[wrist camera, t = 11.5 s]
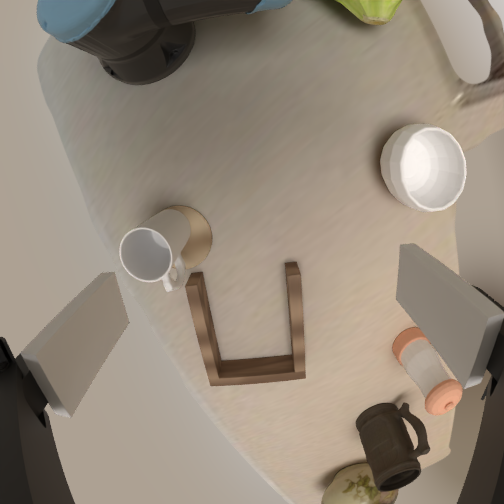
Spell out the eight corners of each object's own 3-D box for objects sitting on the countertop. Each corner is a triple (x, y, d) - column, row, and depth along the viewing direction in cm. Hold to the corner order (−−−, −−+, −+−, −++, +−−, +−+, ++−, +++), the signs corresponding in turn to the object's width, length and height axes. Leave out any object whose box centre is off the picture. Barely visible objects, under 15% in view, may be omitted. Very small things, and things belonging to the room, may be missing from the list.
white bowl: (431, 205, 44) (463, 219, 35) (366, 198, 44) (391, 211, 35) (437, 132, 40) (472, 133, 31) (371, 119, 40) (398, 113, 31)
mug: (143, 218, 45) (109, 241, 34) (180, 199, 44) (155, 217, 33) (172, 274, 48) (150, 311, 37) (209, 258, 47) (195, 294, 36)
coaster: (144, 210, 45) (142, 211, 45) (206, 201, 45) (205, 202, 44) (157, 270, 48) (156, 272, 48) (216, 264, 48) (216, 265, 47)
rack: (191, 273, 48) (185, 286, 44) (296, 261, 48) (300, 274, 43) (213, 368, 55) (210, 386, 50) (302, 360, 54) (305, 378, 49)
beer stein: (381, 433, 63) (405, 491, 43) (346, 431, 62) (366, 495, 42) (412, 389, 59) (449, 447, 40) (377, 385, 58) (411, 451, 39)
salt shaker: (385, 352, 54) (422, 422, 36) (406, 323, 51) (452, 389, 33) (410, 360, 54) (448, 425, 36) (430, 332, 52) (476, 393, 34)
